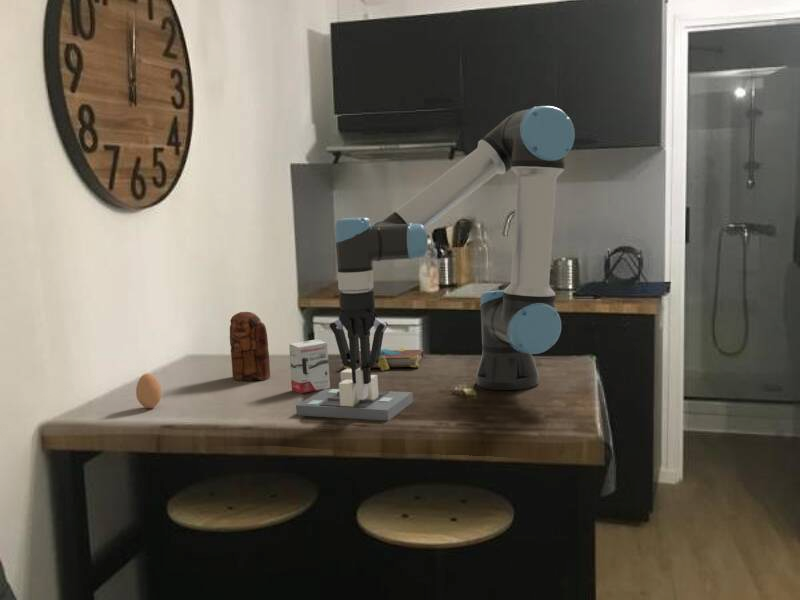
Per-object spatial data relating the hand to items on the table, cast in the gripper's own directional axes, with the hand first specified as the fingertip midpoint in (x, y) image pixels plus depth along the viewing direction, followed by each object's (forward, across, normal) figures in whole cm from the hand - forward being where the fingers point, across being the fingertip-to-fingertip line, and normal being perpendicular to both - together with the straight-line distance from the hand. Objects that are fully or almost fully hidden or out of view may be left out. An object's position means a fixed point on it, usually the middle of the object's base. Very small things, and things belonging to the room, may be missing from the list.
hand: (362, 397), depth 184 cm
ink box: (+4, +23, -20) cm, 31 cm away
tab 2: (+2, +3, 0) cm, 4 cm away
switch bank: (+4, +4, -5) cm, 8 cm away
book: (+5, +17, -49) cm, 52 cm away
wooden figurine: (+4, +45, -28) cm, 53 cm away
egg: (+4, +54, +3) cm, 54 cm away
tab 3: (+2, +1, -5) cm, 5 cm away
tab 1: (+2, +8, -10) cm, 13 cm away
